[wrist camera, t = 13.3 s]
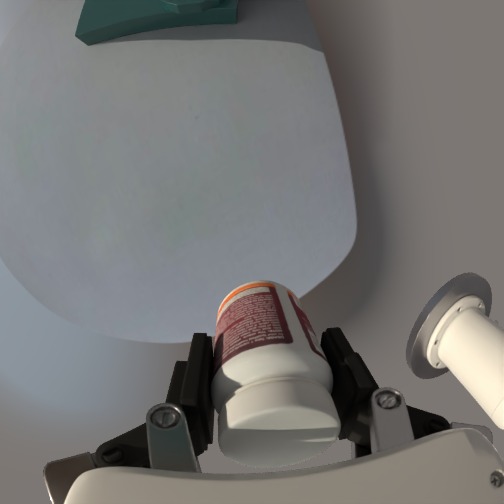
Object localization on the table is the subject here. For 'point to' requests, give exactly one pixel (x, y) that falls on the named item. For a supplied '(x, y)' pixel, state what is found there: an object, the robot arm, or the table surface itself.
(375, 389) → the robot arm
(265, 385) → the pill bottle
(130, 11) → the teal rectangular block
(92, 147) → the table surface
